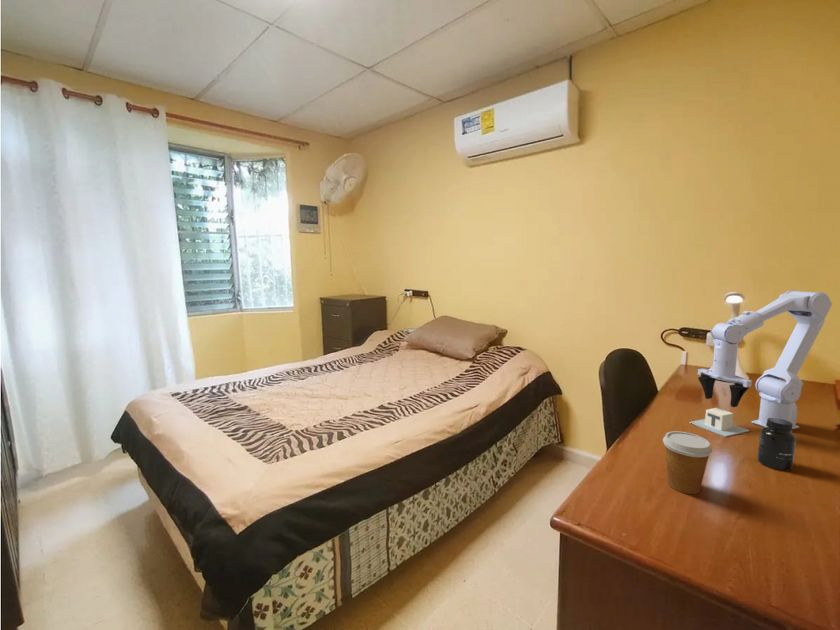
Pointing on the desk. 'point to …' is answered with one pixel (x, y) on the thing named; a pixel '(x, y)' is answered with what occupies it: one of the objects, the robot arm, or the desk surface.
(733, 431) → the slate mat
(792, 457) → the supplement bottle
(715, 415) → the letter block
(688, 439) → the disposable coffee cup
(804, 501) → the desk surface
